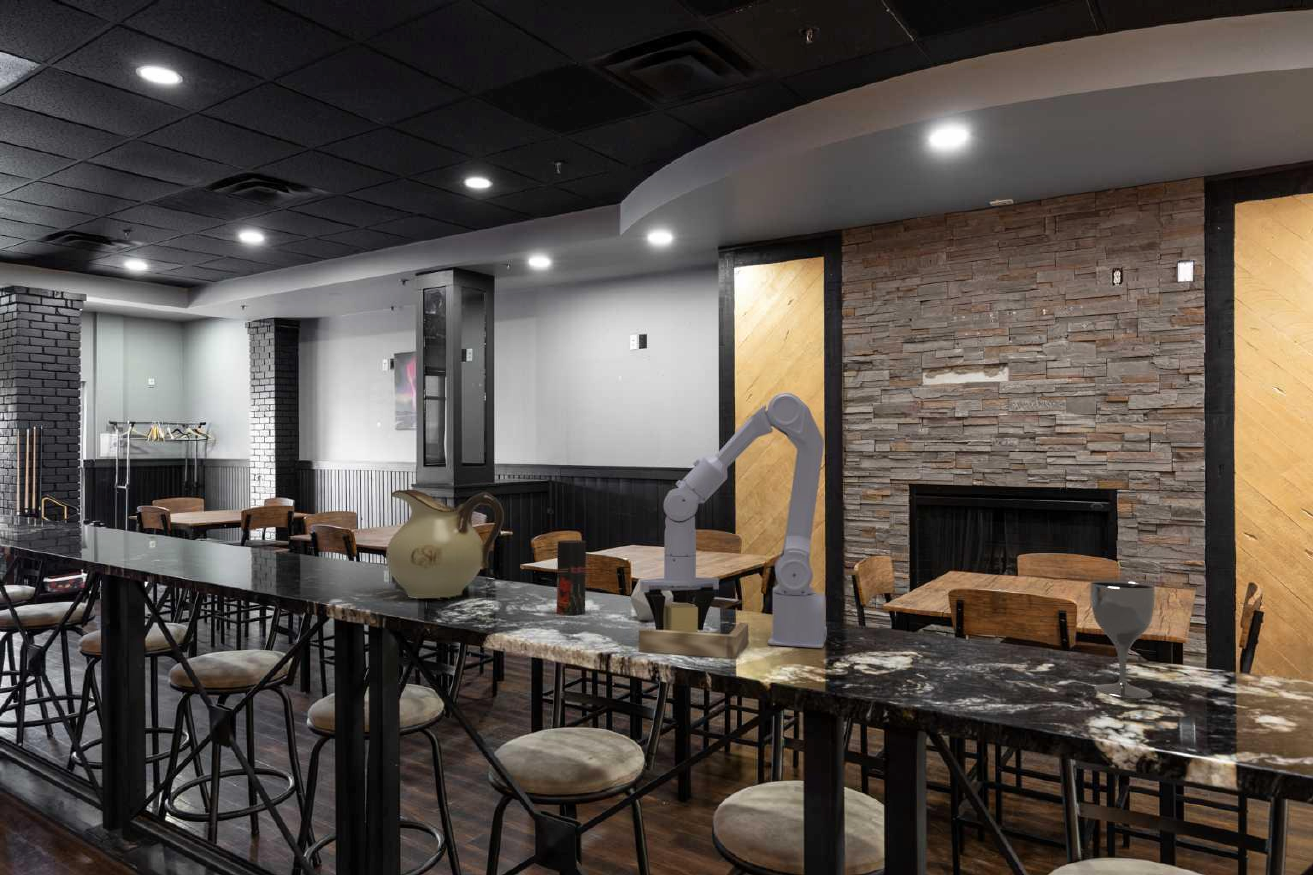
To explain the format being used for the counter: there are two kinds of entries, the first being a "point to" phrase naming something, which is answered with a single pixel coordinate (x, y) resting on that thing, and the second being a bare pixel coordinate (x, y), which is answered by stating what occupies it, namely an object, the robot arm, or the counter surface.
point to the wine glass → (1122, 624)
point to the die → (646, 602)
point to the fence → (695, 642)
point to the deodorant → (571, 577)
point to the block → (681, 617)
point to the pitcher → (439, 545)
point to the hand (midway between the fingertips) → (679, 630)
